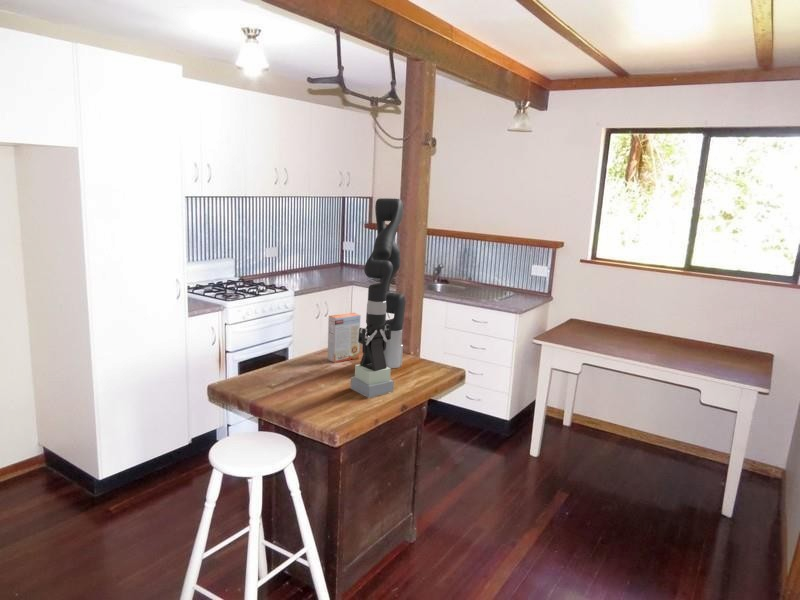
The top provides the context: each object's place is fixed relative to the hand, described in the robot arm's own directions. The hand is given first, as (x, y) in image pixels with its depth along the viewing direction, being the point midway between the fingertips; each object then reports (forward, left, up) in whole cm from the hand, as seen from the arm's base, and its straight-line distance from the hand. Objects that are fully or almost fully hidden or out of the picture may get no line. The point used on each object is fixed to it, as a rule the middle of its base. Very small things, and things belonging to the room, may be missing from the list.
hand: (374, 352), depth 215 cm
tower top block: (0, 0, -11) cm, 11 cm away
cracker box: (-13, -38, -16) cm, 43 cm away
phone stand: (0, 0, -6) cm, 6 cm away
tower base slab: (0, 0, -16) cm, 16 cm away
